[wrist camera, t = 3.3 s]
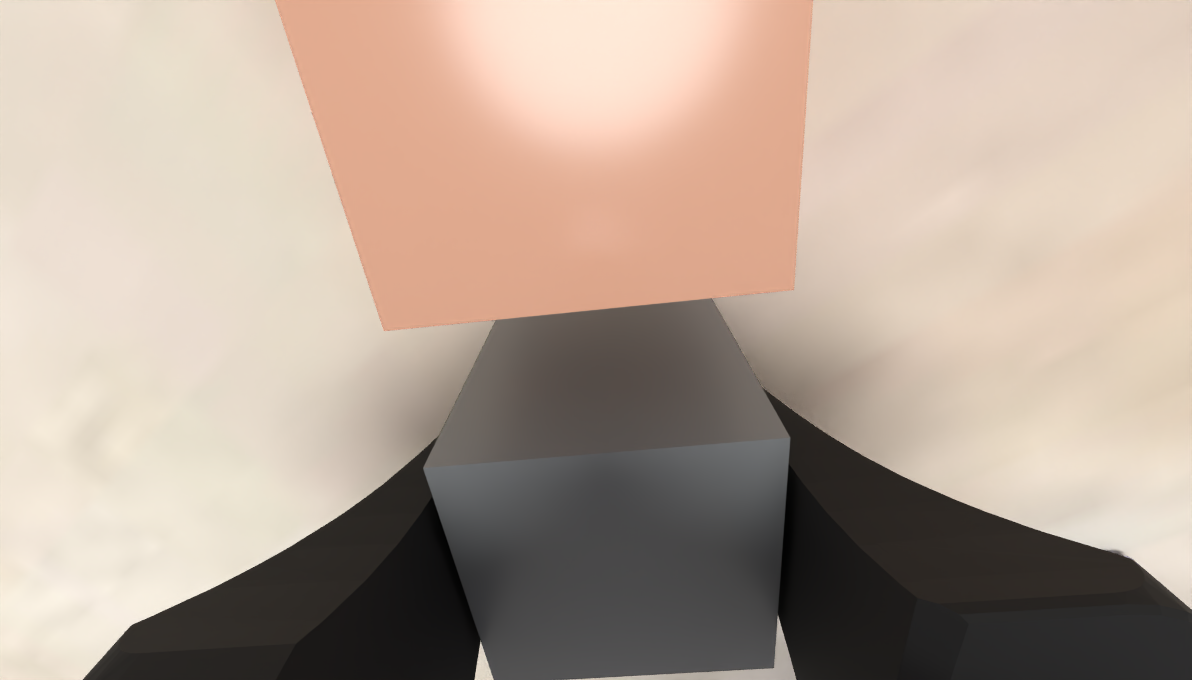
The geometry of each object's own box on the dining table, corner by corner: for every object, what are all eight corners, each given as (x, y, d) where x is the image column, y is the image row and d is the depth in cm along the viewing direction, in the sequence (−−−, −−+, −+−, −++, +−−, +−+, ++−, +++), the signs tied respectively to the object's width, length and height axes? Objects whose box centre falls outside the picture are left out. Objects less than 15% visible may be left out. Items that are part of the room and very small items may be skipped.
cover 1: (700, 199, 11) (793, 290, 6) (486, 223, 11) (383, 331, 6) (695, -76, 9) (835, -341, 4) (431, -39, 9) (198, -233, 4)
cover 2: (707, 451, 14) (774, 668, 9) (535, 465, 14) (495, 683, 9) (704, 286, 12) (790, 437, 7) (502, 307, 12) (423, 467, 7)
